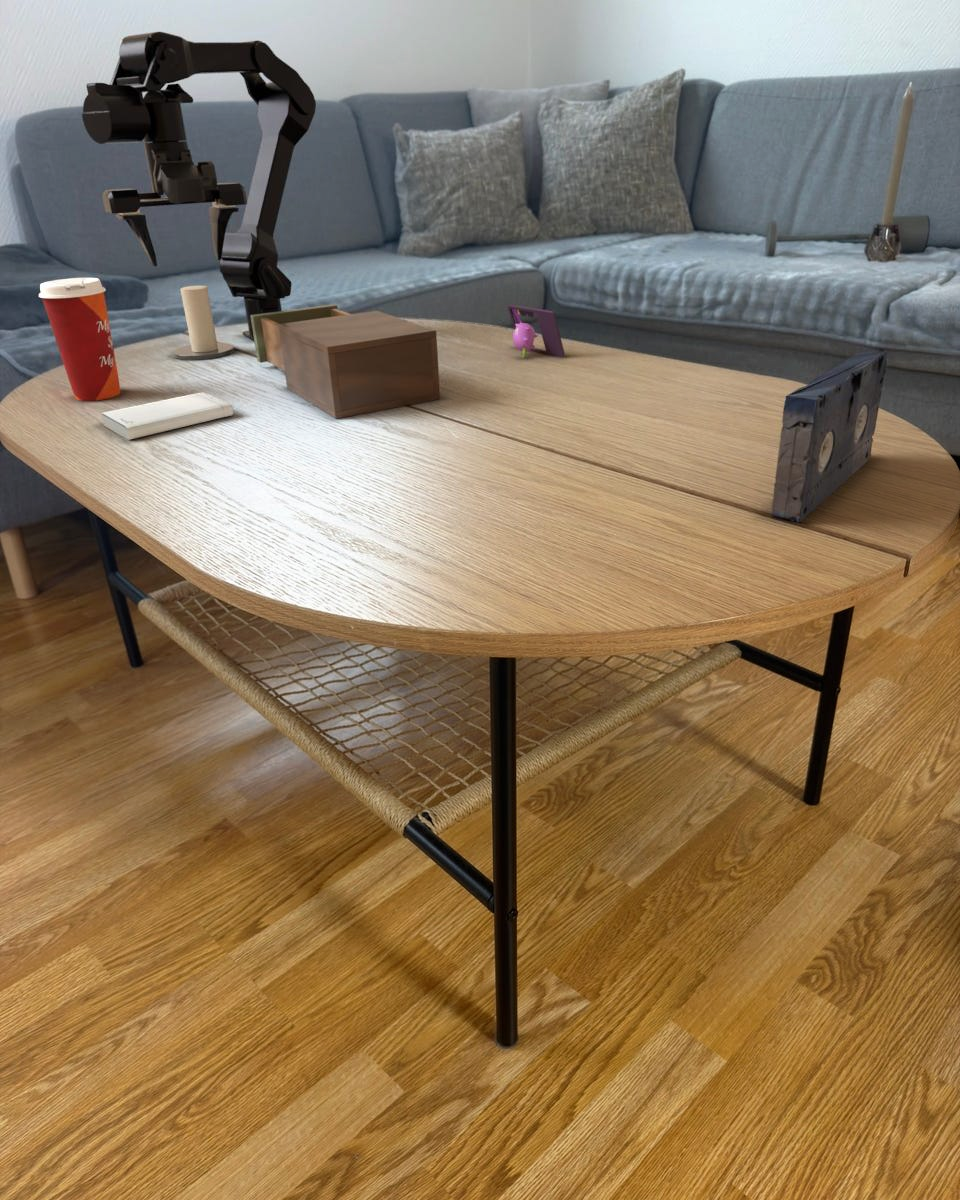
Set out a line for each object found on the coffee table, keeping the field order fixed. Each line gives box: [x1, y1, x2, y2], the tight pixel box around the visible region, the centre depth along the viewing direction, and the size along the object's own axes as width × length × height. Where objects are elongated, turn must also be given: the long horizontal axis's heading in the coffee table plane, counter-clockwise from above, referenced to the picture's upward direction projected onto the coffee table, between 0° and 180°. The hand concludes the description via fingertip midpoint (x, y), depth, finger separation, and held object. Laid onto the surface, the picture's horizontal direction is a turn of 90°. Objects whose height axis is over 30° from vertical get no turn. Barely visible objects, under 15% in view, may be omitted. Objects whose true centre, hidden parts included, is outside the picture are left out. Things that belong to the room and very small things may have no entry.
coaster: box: [172, 342, 235, 361], centre depth 133 cm, size 9×9×1 cm
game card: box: [507, 304, 566, 359], centre depth 122 cm, size 7×5×9 cm
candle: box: [180, 285, 218, 353], centre depth 130 cm, size 4×4×9 cm
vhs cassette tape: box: [770, 349, 888, 523], centre depth 74 cm, size 18×3×10 cm, turn 140°
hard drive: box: [100, 391, 234, 441], centre depth 101 cm, size 2×8×12 cm
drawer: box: [251, 304, 351, 372], centre depth 119 cm, size 20×12×6 cm, turn 30°
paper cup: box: [38, 277, 121, 402], centre depth 109 cm, size 8×8×14 cm
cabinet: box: [278, 310, 441, 420], centre depth 107 cm, size 17×14×8 cm
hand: (187, 263), depth 126 cm, fingers open, 9 cm apart
